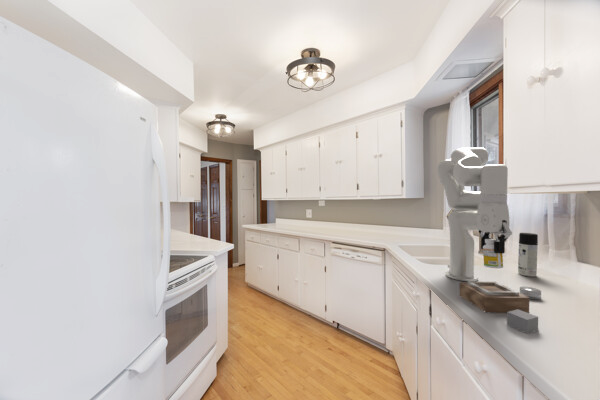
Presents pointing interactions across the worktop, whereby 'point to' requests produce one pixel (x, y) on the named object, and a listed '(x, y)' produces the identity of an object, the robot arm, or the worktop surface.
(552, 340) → the worktop surface
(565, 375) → the worktop surface
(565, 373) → the worktop surface
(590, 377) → the worktop surface
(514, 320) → the grey rubber block
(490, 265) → the supplement bottle
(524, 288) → the metal tin
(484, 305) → the walnut stand
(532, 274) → the spray can
